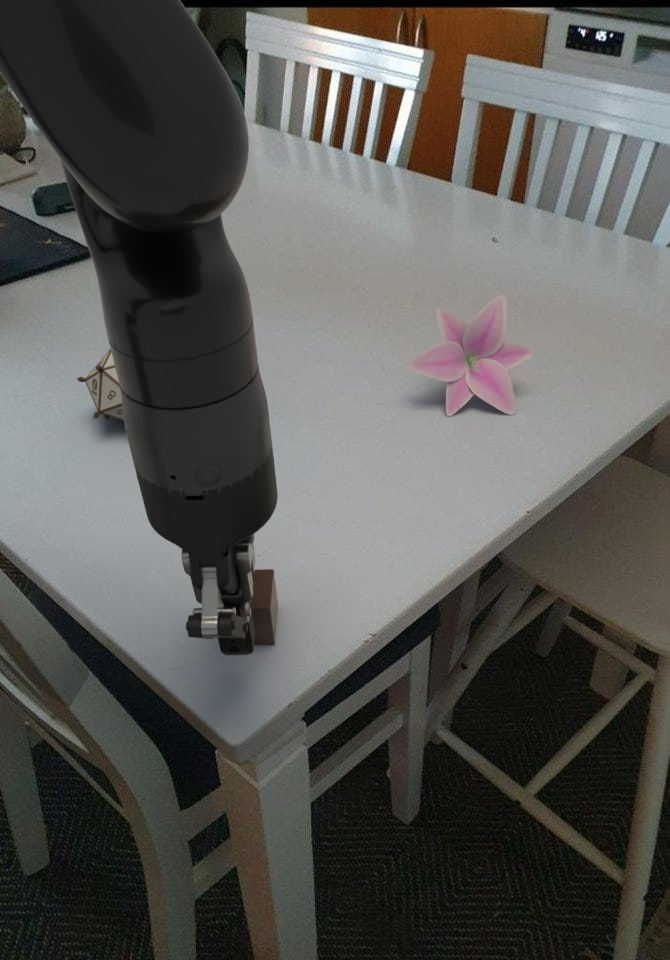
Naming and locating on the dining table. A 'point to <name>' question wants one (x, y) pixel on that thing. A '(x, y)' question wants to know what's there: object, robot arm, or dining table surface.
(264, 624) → the walnut block
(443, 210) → the dining table surface
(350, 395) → the dining table surface
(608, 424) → the dining table surface
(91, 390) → the game die
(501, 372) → the lily
